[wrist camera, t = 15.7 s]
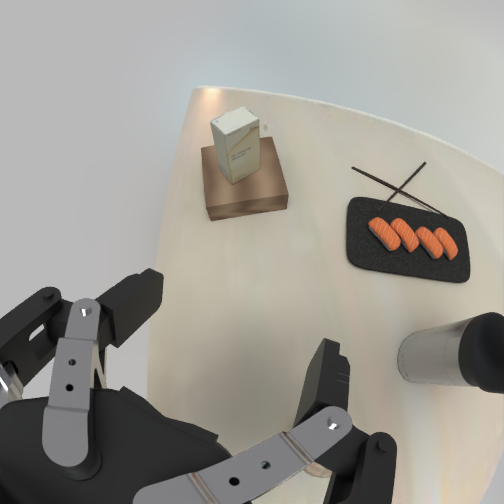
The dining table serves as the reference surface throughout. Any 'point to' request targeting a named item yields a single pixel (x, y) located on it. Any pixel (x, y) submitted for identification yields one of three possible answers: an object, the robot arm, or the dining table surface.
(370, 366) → the dining table surface
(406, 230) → the sushi plate
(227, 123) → the skincare box
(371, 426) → the dining table surface
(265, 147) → the block
